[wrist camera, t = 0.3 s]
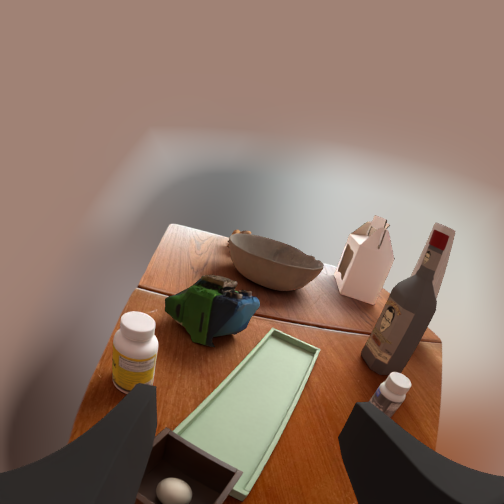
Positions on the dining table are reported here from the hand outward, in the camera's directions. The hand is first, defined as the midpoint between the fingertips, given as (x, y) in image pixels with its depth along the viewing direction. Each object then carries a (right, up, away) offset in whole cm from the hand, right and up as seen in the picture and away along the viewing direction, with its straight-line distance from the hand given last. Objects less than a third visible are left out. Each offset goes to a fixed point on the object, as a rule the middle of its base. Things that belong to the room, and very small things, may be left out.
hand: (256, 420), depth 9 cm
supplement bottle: (-16, -11, +23) cm, 30 cm away
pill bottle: (+19, -20, +29) cm, 40 cm away
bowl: (+4, -2, +77) cm, 77 cm away
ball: (-6, -12, +7) cm, 15 cm away
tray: (+1, -14, +29) cm, 33 cm away
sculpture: (-9, -8, +42) cm, 43 cm away
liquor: (+27, -18, +46) cm, 57 cm away
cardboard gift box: (+37, -8, +94) cm, 101 cm away
